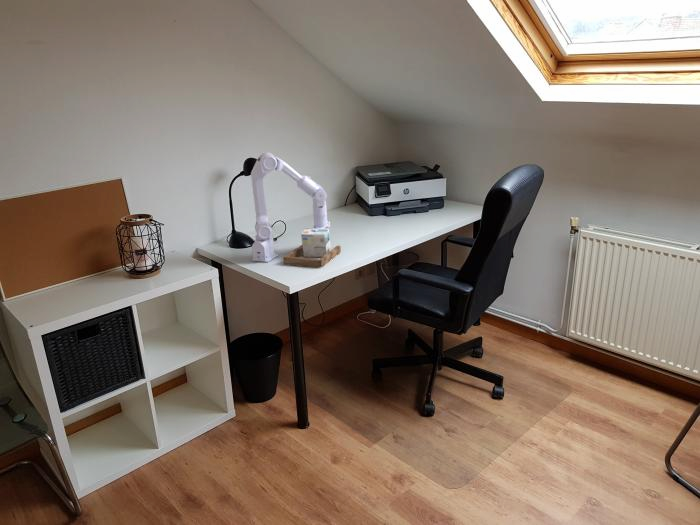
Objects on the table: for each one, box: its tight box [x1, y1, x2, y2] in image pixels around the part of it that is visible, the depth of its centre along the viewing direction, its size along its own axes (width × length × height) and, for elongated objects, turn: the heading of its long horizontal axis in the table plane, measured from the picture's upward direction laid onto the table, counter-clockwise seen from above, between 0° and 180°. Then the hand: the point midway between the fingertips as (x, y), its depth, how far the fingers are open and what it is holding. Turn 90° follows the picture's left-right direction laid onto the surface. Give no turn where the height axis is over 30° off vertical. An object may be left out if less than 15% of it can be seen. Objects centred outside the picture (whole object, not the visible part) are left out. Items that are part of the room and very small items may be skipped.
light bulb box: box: [300, 227, 332, 258], centre depth 245 cm, size 11×7×11 cm, turn 77°
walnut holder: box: [282, 244, 342, 268], centre depth 243 cm, size 20×17×3 cm
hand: (322, 245), depth 251 cm, fingers closed
